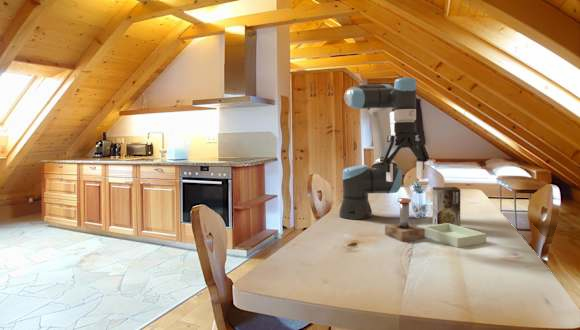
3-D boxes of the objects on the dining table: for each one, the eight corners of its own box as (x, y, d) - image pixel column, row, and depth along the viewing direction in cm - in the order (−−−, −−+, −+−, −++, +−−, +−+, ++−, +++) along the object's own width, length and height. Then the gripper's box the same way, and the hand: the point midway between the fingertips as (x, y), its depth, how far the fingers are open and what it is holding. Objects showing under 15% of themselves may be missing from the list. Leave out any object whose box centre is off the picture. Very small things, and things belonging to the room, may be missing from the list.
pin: (395, 235, 136) (395, 198, 134) (405, 234, 137) (405, 197, 136) (403, 238, 131) (403, 200, 130) (413, 237, 133) (413, 199, 132)
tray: (421, 234, 136) (421, 226, 136) (447, 230, 141) (448, 222, 140) (457, 247, 120) (457, 238, 120) (485, 242, 125) (486, 233, 125)
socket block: (384, 234, 137) (384, 225, 137) (406, 231, 141) (406, 222, 140) (402, 241, 128) (402, 232, 128) (424, 238, 132) (424, 228, 131)
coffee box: (454, 225, 148) (455, 186, 147) (460, 229, 142) (461, 189, 141) (431, 225, 149) (432, 186, 148) (436, 229, 143) (437, 189, 141)
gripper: (382, 121, 123) (382, 183, 124) (439, 121, 132) (439, 179, 133) (369, 122, 130) (370, 181, 131) (424, 122, 139) (424, 177, 140)
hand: (404, 180), depth 132 cm, fingers open, 13 cm apart
